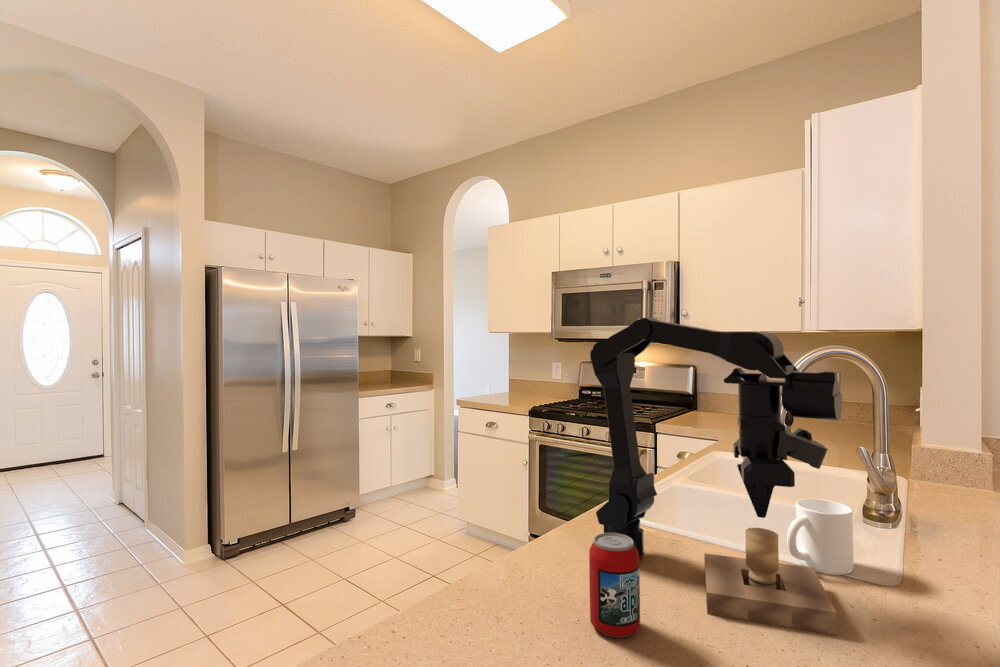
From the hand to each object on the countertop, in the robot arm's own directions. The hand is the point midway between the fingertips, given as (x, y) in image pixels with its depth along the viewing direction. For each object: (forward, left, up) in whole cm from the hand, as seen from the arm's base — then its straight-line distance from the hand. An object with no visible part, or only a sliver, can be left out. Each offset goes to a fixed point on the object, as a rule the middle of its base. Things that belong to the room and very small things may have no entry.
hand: (761, 516), depth 76 cm
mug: (+10, +15, -13) cm, 22 cm away
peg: (0, 0, -12) cm, 12 cm away
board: (0, 0, -12) cm, 12 cm away
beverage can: (-20, -15, -13) cm, 28 cm away
